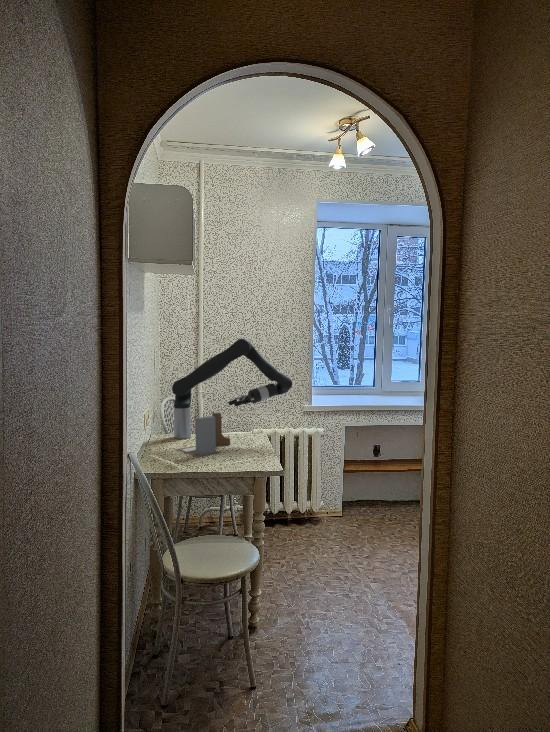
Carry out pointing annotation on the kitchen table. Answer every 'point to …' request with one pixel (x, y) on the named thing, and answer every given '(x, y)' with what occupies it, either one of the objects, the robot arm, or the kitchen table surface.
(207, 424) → the slate post
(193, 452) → the base board
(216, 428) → the wooden block
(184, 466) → the kitchen table surface
